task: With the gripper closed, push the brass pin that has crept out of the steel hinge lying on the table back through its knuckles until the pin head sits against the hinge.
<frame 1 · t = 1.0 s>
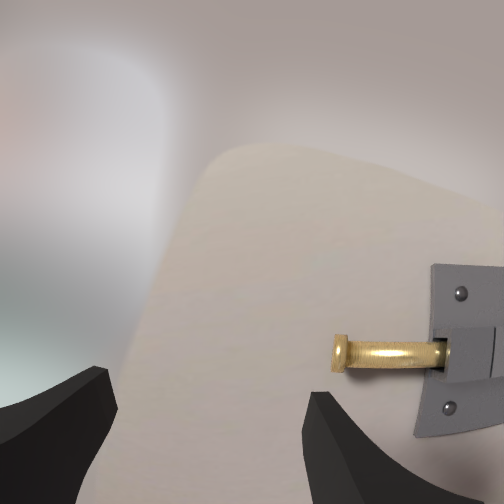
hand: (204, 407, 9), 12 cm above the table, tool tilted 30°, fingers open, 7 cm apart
hinge: (486, 349, 16), on the table
pin: (426, 354, 16), point 2 cm above the table, slide at 6.0 cm
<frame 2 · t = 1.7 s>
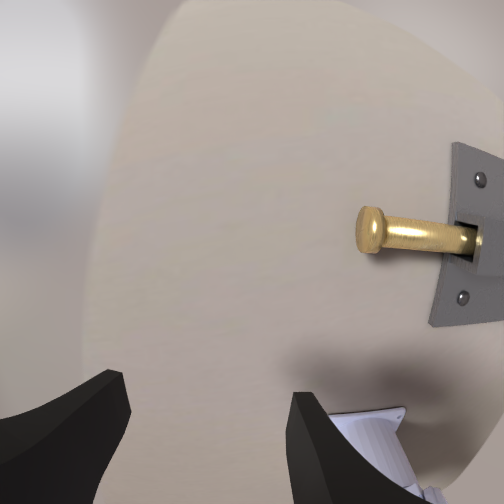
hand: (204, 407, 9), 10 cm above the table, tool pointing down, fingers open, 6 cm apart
hinge: (494, 242, 17), on the table
pin: (453, 239, 15), point 2 cm above the table, slide at 6.0 cm
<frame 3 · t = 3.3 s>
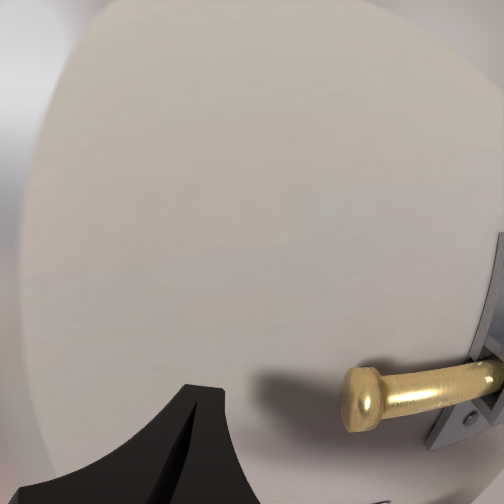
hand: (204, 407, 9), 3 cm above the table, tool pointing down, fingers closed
pin: (476, 380, 9), point 2 cm above the table, slide at 6.0 cm
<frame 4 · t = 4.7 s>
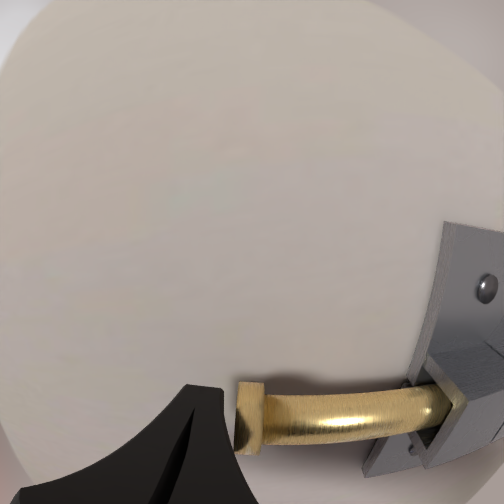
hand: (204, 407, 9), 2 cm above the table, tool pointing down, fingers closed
hinge: (489, 363, 10), on the table
pin: (419, 408, 8), point 2 cm above the table, slide at 5.3 cm, touching gripper
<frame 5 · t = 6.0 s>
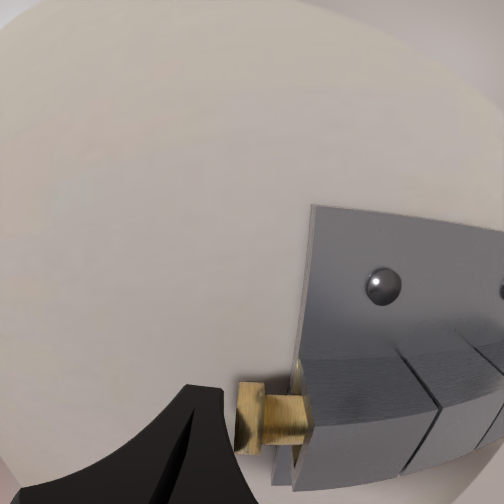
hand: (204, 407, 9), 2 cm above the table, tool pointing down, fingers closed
hinge: (419, 377, 10), on the table
pin: (419, 407, 8), point 2 cm above the table, slide at 0.2 cm, touching gripper
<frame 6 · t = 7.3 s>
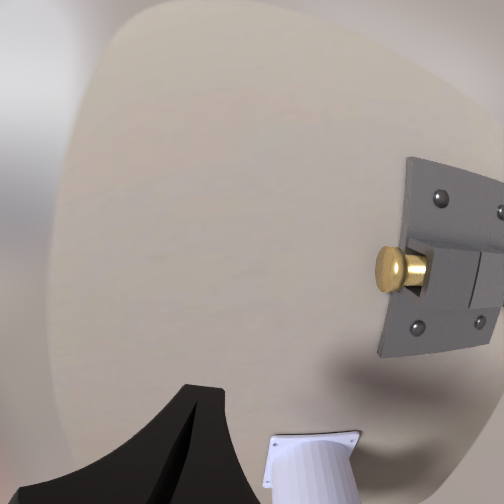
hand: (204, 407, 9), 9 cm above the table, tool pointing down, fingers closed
hinge: (460, 265, 17), on the table
pin: (467, 272, 15), point 2 cm above the table, slide at 0.2 cm
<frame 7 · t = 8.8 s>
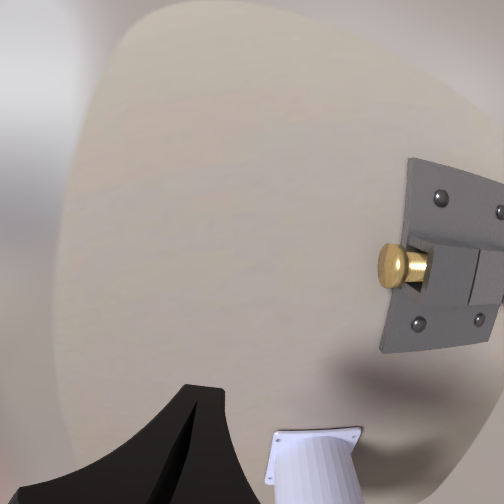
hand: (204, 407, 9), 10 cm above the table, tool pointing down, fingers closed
hinge: (460, 263, 17), on the table
pin: (466, 270, 15), point 2 cm above the table, slide at 0.2 cm
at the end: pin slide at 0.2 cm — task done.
